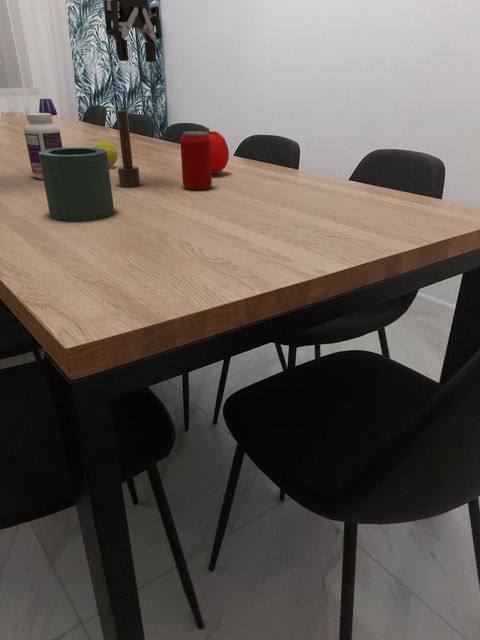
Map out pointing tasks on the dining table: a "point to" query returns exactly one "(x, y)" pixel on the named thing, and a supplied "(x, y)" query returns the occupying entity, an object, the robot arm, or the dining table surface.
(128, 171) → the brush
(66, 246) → the dining table surface
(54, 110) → the toy lamp
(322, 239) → the dining table surface
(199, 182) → the beverage can
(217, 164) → the tomato
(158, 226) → the dining table surface
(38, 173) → the pill bottle
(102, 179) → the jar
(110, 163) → the tennis ball
